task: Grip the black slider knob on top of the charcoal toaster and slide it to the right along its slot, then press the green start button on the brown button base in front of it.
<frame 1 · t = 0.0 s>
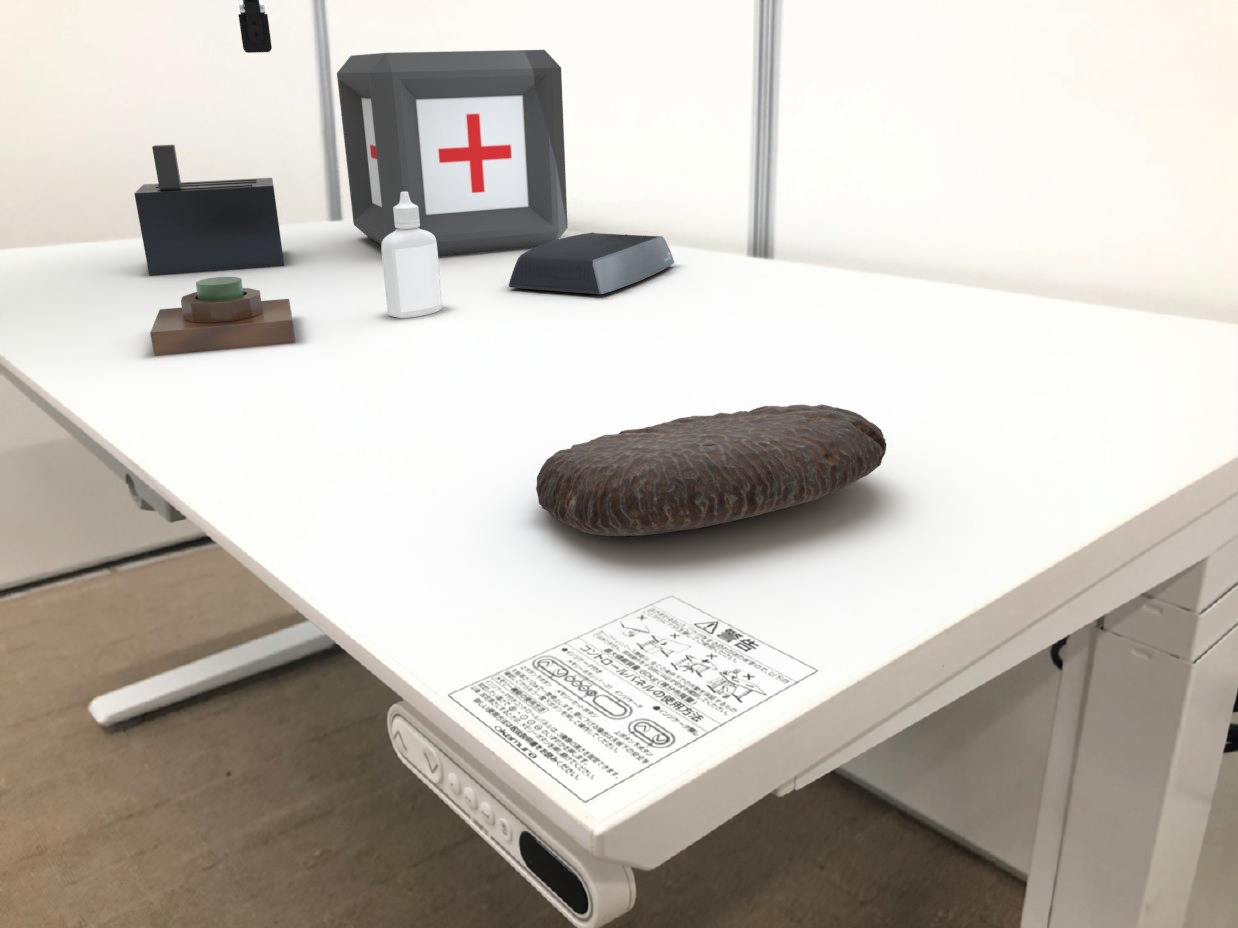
hand: (257, 51, 128), 25 cm above the table, tool pointing down, fingers open, 9 cm apart
first aid kit: (459, 243, 150), on the table
brown button base: (227, 337, 99), on the table
toaster: (219, 264, 137), on the table
hard drive: (595, 280, 122), on the table
toaster slider: (167, 167, 128), point 13 cm above the table, slide at 0.0 cm
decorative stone: (709, 506, 60), on the table
start button: (220, 290, 98), point 4 cm above the table, slide at 0.1 cm
eye dropper bottle: (415, 315, 107), on the table
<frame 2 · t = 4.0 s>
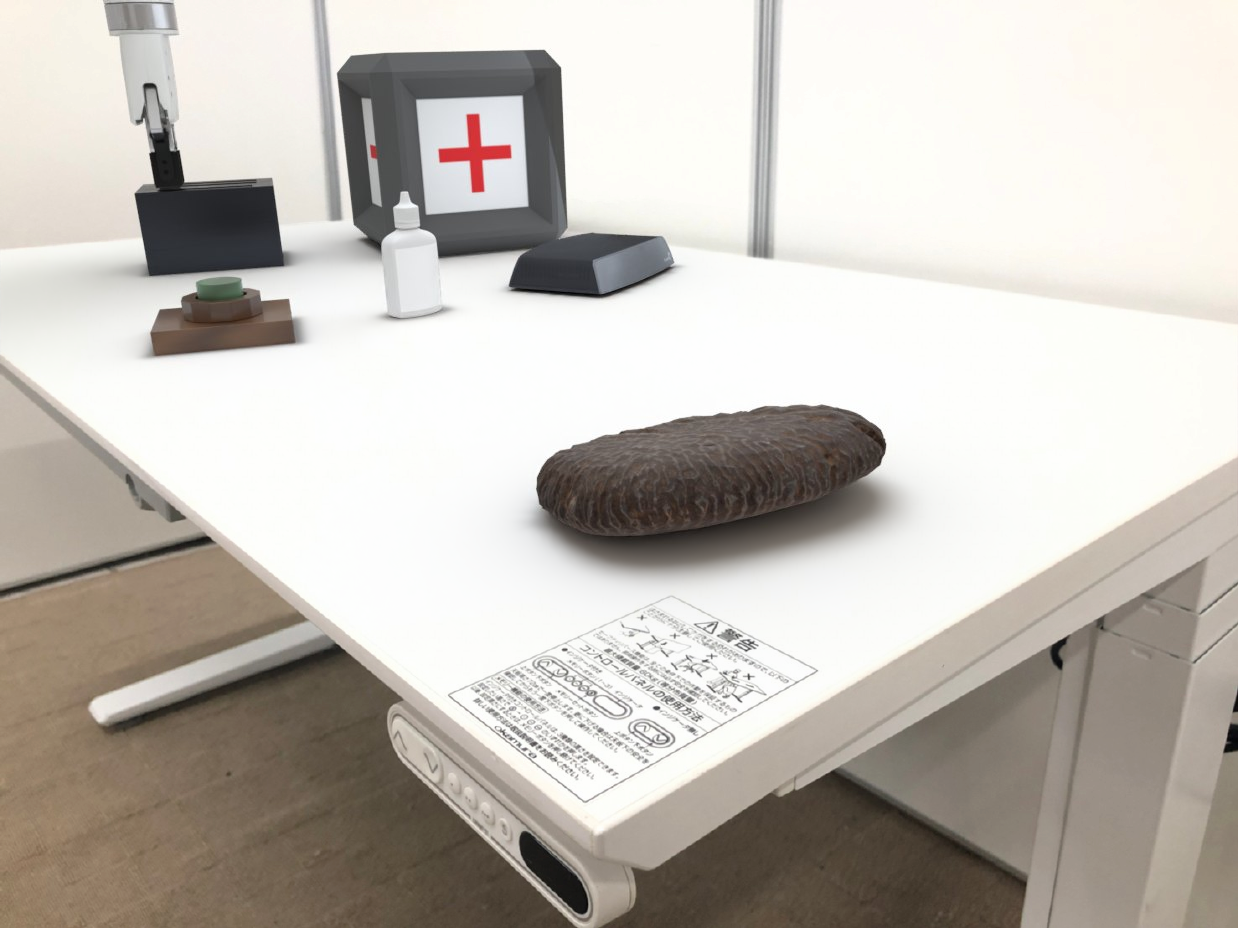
hand: (170, 184, 129), 11 cm above the table, tool pointing down, fingers closed on toaster slider, 2 cm apart
toaster slider: (167, 166, 128), point 13 cm above the table, slide at 0.0 cm, touching gripper
everything else where it was.
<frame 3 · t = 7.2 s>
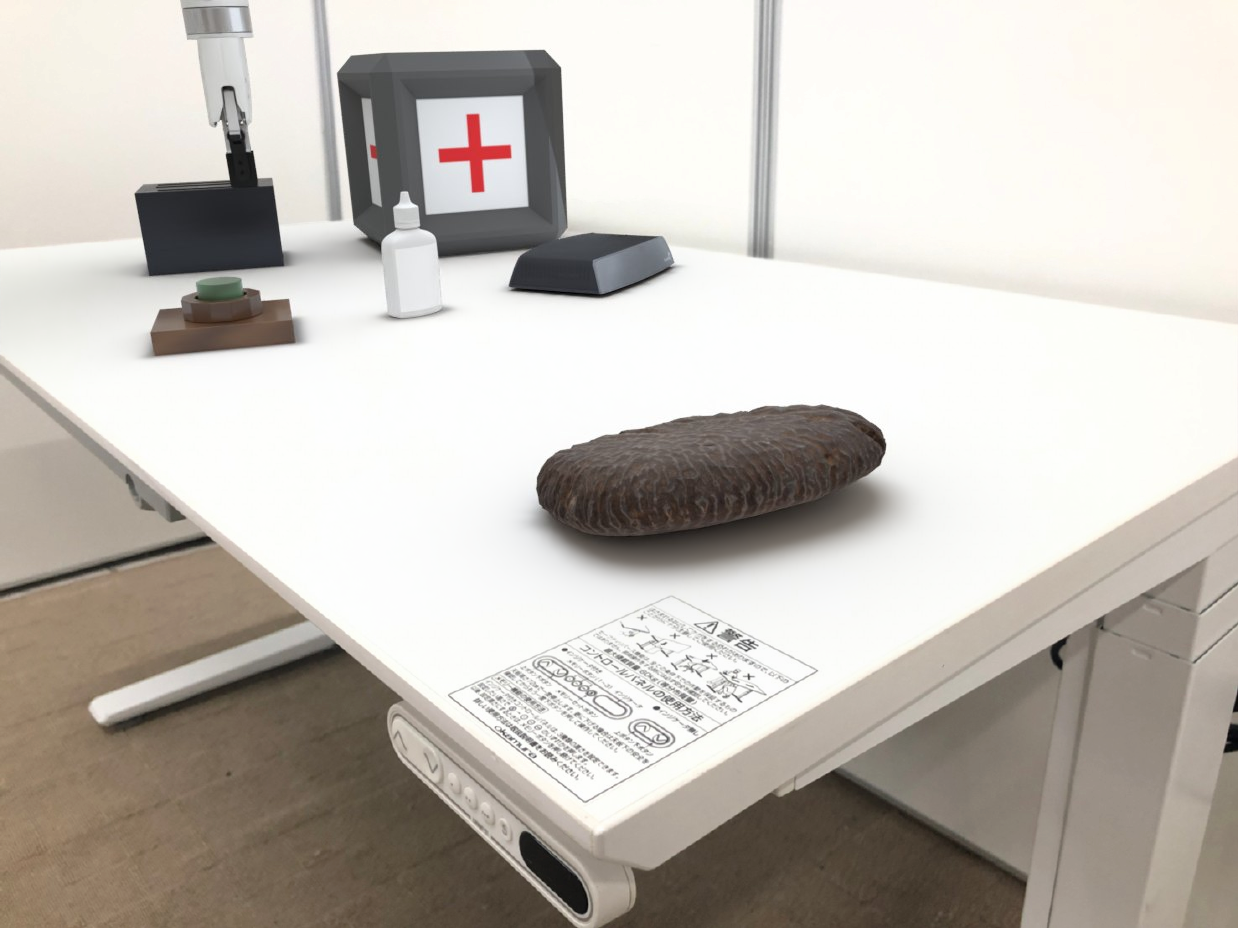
hand: (244, 184, 131), 10 cm above the table, tool pointing down, fingers closed on toaster slider, 2 cm apart
toaster slider: (239, 163, 130), point 13 cm above the table, slide at 8.4 cm, touching gripper
everything else where it was.
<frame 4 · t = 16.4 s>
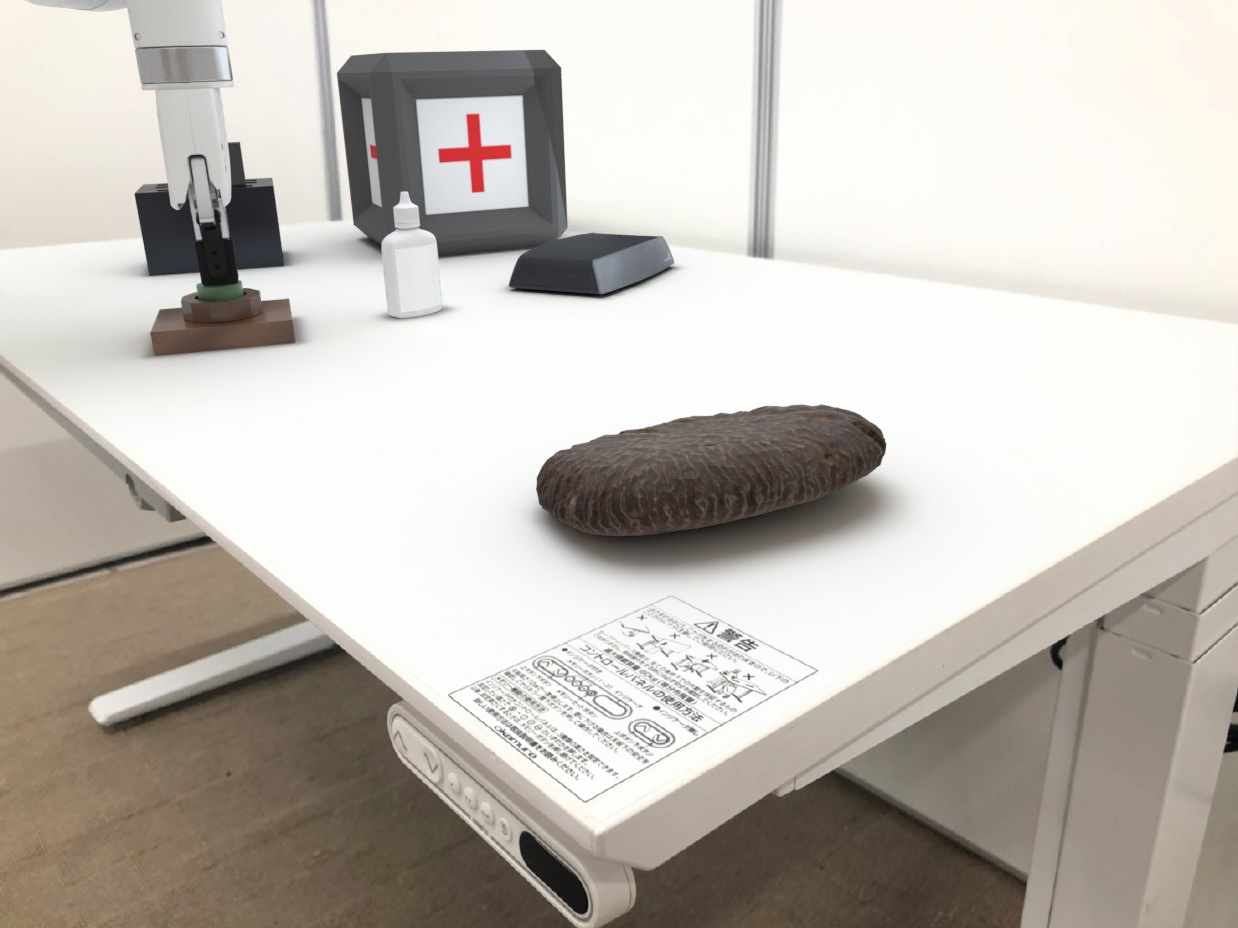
hand: (220, 282, 97), 5 cm above the table, tool pointing down, fingers closed
toaster slider: (232, 163, 130), point 13 cm above the table, slide at 7.6 cm
start button: (220, 292, 98), point 4 cm above the table, slide at -0.1 cm, touching gripper
everything else where it was.
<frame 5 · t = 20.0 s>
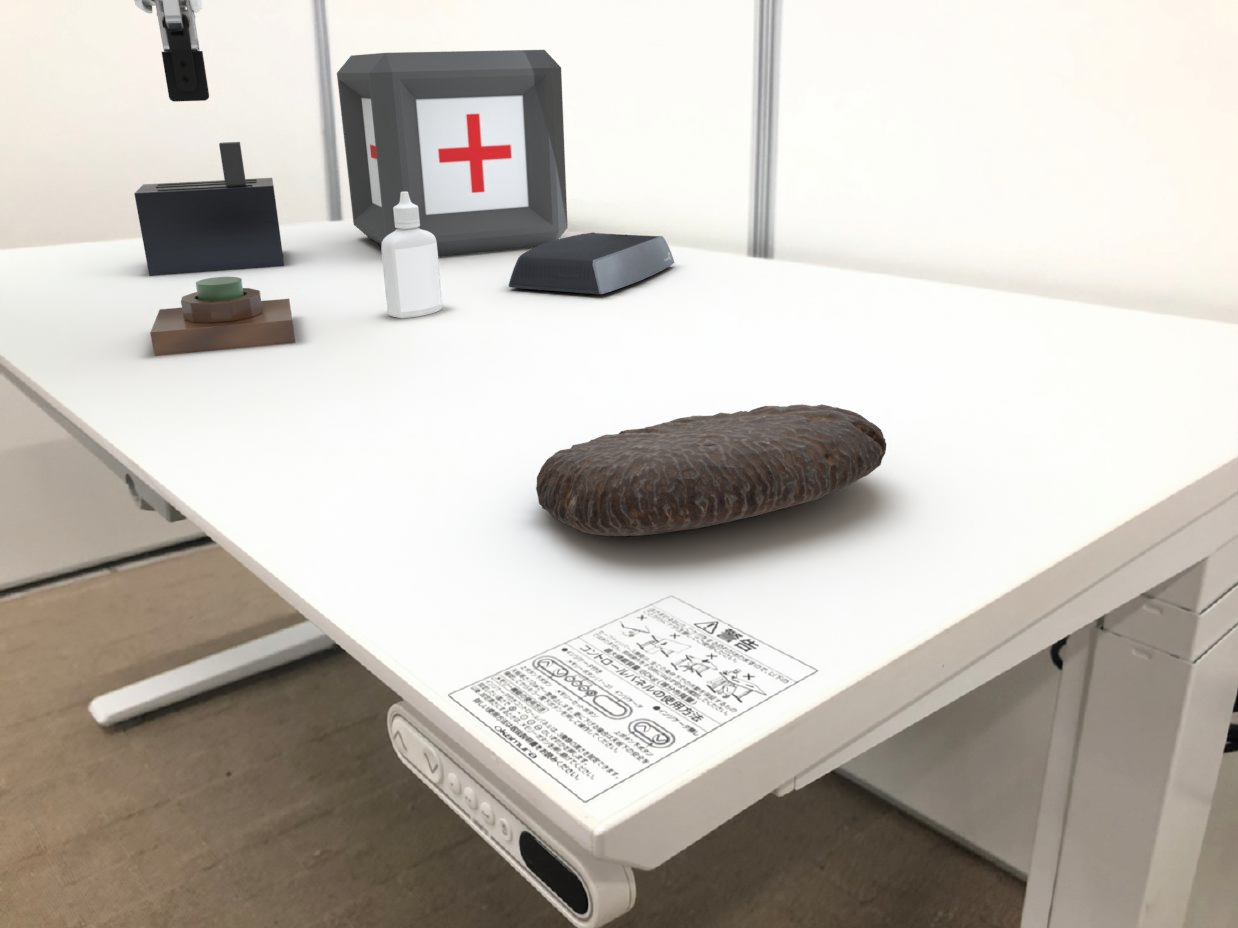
hand: (189, 100, 92), 21 cm above the table, tool pointing down, fingers closed
start button: (220, 290, 98), point 4 cm above the table, slide at 0.1 cm
everything else where it was.
at the end: toaster slider slide at 7.6 cm; start button pushed in 1.1 cm at the most during the clip, back to where it started at the end; start button slide at 0.1 cm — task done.
